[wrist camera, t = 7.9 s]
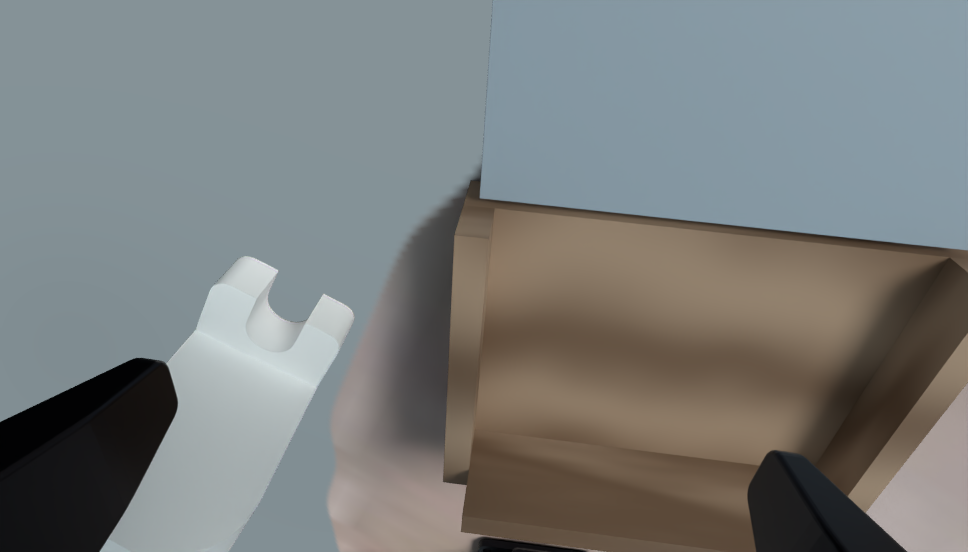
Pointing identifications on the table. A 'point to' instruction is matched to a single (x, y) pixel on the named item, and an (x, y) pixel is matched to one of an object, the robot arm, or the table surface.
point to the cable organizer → (230, 414)
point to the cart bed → (682, 369)
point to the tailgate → (736, 113)
